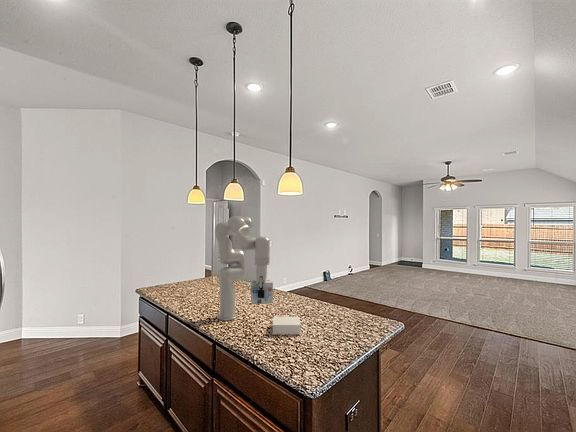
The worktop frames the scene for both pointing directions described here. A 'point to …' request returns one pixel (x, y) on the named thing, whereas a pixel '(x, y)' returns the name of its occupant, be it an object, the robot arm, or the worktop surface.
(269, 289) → the light bulb box
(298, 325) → the plinth
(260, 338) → the worktop surface
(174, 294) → the worktop surface
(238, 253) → the robot arm
